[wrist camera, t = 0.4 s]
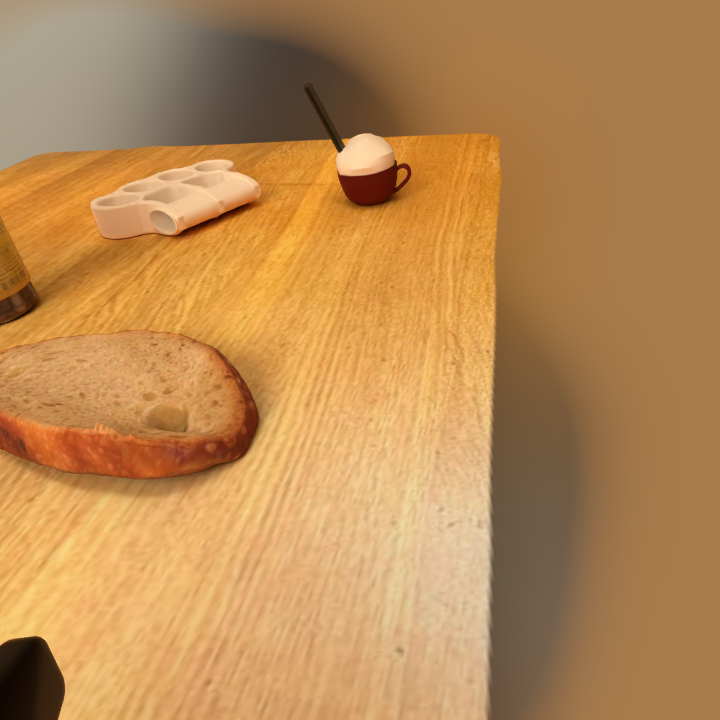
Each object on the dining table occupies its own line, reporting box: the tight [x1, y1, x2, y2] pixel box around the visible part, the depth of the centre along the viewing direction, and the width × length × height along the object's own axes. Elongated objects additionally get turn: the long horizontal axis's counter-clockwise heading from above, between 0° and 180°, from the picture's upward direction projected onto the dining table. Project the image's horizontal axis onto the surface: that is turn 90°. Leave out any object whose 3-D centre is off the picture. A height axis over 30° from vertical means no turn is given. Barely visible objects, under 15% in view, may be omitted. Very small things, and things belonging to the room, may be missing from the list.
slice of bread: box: [0, 330, 258, 479], centre depth 34 cm, size 18×18×4 cm
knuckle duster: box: [90, 160, 261, 239], centre depth 66 cm, size 3×18×15 cm
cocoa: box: [304, 83, 411, 205], centre depth 60 cm, size 10×6×12 cm, turn 56°
